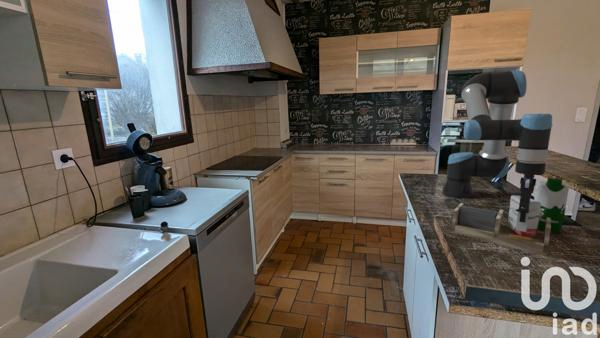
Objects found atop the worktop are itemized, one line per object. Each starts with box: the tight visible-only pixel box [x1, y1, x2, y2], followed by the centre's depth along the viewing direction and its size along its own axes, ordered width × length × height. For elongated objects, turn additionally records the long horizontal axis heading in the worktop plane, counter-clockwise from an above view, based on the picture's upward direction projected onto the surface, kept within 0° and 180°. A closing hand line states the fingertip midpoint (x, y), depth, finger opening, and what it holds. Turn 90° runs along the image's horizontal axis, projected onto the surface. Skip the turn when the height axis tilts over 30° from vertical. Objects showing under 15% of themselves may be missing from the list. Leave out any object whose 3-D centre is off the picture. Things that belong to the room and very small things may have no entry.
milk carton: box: [533, 177, 570, 234], centre depth 104 cm, size 9×9×20 cm
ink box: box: [507, 195, 541, 237], centre depth 93 cm, size 9×5×12 cm, turn 168°
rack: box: [450, 202, 551, 257], centre depth 98 cm, size 12×27×9 cm, turn 48°
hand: (522, 225), depth 93 cm, fingers closed on ink box, 9 cm apart
